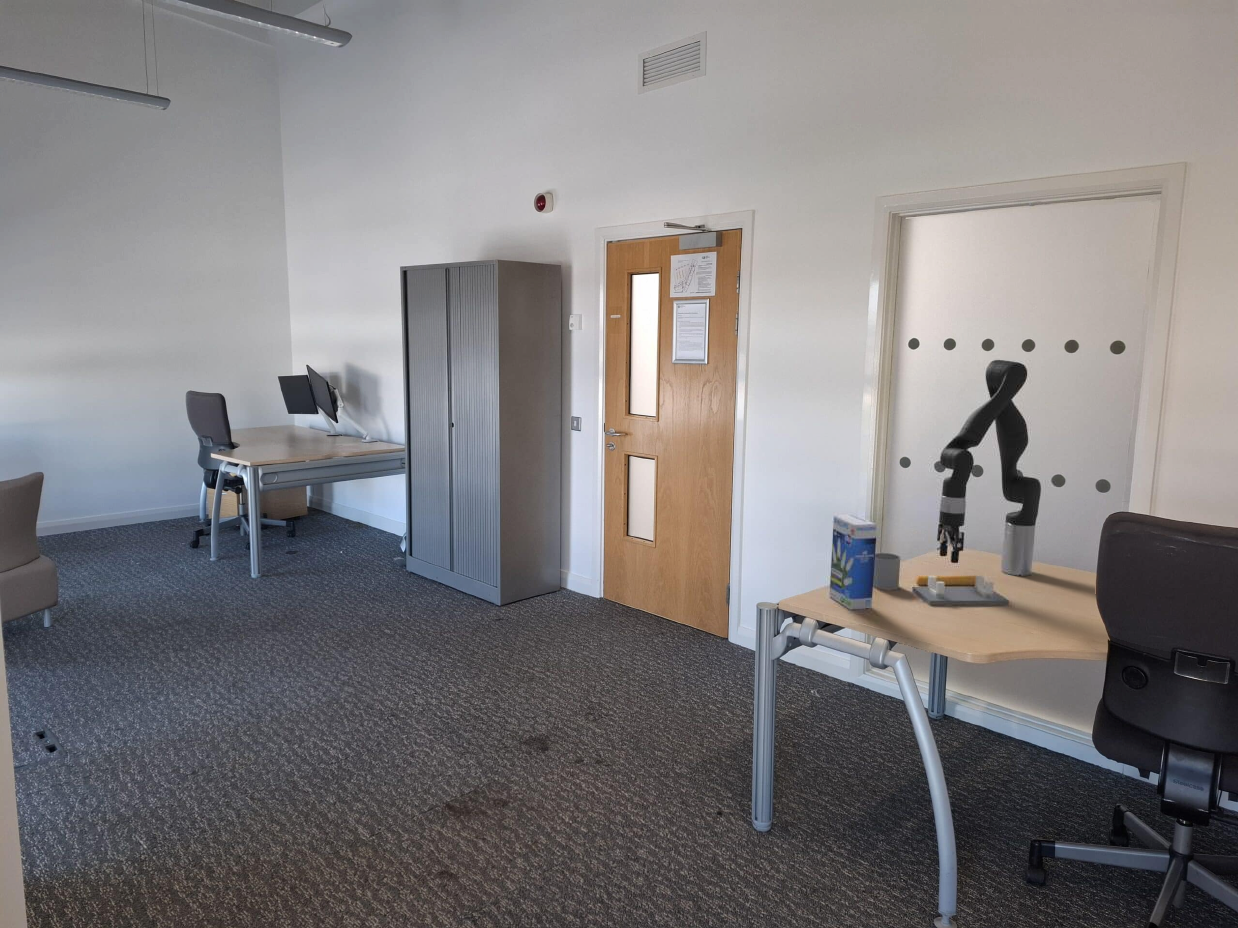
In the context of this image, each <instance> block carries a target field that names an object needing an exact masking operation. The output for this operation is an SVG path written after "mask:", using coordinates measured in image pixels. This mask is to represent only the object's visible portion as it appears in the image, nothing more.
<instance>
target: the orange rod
mask: <svg viewBox="0 0 1238 928" xmlns="http://www.w3.org/2000/svg"><path fill="white" fill-rule="evenodd" d="M928 576H929V575H917V576H915V577H916V578H915V583H916V585H917V586H928ZM935 576H936V577H937V580H936V582H944V583H945V586H975V581H976V576H977V575H935Z"/></svg>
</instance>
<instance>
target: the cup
mask: <svg viewBox="0 0 1238 928" xmlns="http://www.w3.org/2000/svg"><path fill="white" fill-rule="evenodd" d="M900 568H901V556H900V555H897V554H894V553H888V552H885V553H884V552H880V553H875V565H874V579H873V589H876V590H881V591H886V592H887V591H897V590H899V587H900V584H899V583H900V571H901V570H900Z"/></svg>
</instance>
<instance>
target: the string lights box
mask: <svg viewBox="0 0 1238 928" xmlns="http://www.w3.org/2000/svg"><path fill="white" fill-rule="evenodd" d="M832 522H833V523H832V524H833V526H832V527H833V528H832V540H831V541H832V543H831V544H832V545H831V558H830V559H831V562H830V577H829V579H830V581H829V583H830V584H829V598H831V599H832V600H835V602H837V603H839V604H841V605H842V606H843V607H845V608H846V609H848V610H851V611H853V610H854V609H855V610H865V609H866V608H869V609H872V607H873V606H872V605H873V591H874V590H873V589H874V588H873V579H874V565H875V554H876V548H877V534H878V533H877V532H878V523H875V522H871V521H870V520H868V519H866V518H863V517H861V516H857V515H856V514H838V515H837V514H836V515H833V521H832Z"/></svg>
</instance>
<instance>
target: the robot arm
mask: <svg viewBox="0 0 1238 928" xmlns="http://www.w3.org/2000/svg"><path fill="white" fill-rule="evenodd" d="M1027 379H1028V369H1027V367H1026V365H1024V364H1023V363H1022V362H1018V361H1012V360H1003V359H995V360H992V361H990V362H989V364H988V365H987V367H986V370H985V383H986V387H987V391H988V394H989V400H987V401H986V402H984V403H983V404H982V405H980V406H979V407H978V408H977V409H975V411H973V412H972V413H971V414H970V415H969V416H968V418H967V419H966V421H965V422H964V424H963V425H962V427H961V429H960V430H959V432H958V433H957V434H956V435H955V436H954V437H952V439H951V441H949V442H948V443H947V445H945V447H943V450H942V451H941V454H940V457H939V461H940V465H941V466H942V467H943V468H945V469H948V470H952V473H951V476H948V477H945V478H944V479H943V482H942V491H941V499H940V504H939V506H940V507H939V515H938V516H939V519H938V526H937V536H936V541H937V542H938V544H939V553H938V554H939V556H940V557H947V556H948V545H949V546H950V550H951V552H950V563H952V564H958V563H959V561H960V560H959V557H960V552H963V551H964V545H965V544H964V543H965V542H964V541H965V532H963V531H960V527H963V526H964V525H965V517H966V516H965V515H966V507H967V505H966V504H967V503H966V496H967V484H968V482H969V480H970V478H971V477H970V476H971V473H972V472H973V468H974V462H975V460H974V456H973V454H972V452H971V451H970V450H969V449H970V448H975V447H978V446H979V445H980V443H981V442H982V440H984V438H985V436H986V434H987V432H988V431H989V429H990V427H991V426H992V424H993V423H994V424H995V432H996V439H997V445H998V450H999V451H998V452H999V459H1000V466H1001V467H1000V469H1001V489H1002V495H1003V497H1004V499H1005V500H1006V501H1007V502H1011V503H1015V504H1021V505H1022V507H1021V509H1020V510H1017V511H1012V512H1009V513H1006V515H1005V524H1004V537H1003V545H1002V553H1001V555H1002V556H1001V572H1003V573H1005V574H1008V575H1012V576H1019V575H1021V577H1023V576H1024V577H1025V576H1030V575H1032V569H1033V568H1032V567H1033V558H1034V557H1033V556H1034V547H1035V533H1036V532H1035V531H1036V521H1037V519H1038V515H1039V514H1038V513H1039V507H1040V500H1041V493H1042V484H1041V482H1040V480H1039V479H1038V478H1034V477H1030V476H1024V475H1019V474H1018V469H1017V466H1018V461H1019V460H1020V458H1021V457H1022V455H1023V454H1024V452H1025V450H1026V449H1027V447H1028V444H1029V433H1028V426H1027V422H1026V420H1025V418H1024V416H1023V414H1022V413H1021V412H1020V410H1019V408H1017V406H1016V405H1015V403H1014V402H1013V401H1014V400H1013V399H1014V398H1015V396H1016V395H1017V394H1018V393H1019V391H1020V390H1021V389H1022V388H1023V387H1024V385H1025V383H1026V380H1027Z"/></svg>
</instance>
